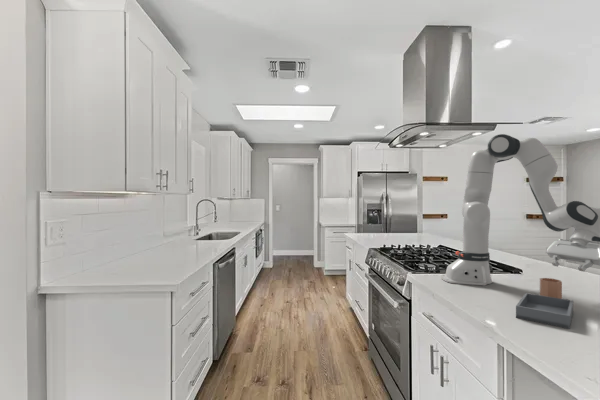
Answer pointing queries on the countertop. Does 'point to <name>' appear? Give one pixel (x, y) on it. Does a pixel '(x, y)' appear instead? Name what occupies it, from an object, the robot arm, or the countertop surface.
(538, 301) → the tray
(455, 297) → the countertop surface
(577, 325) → the countertop surface
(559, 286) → the cup
